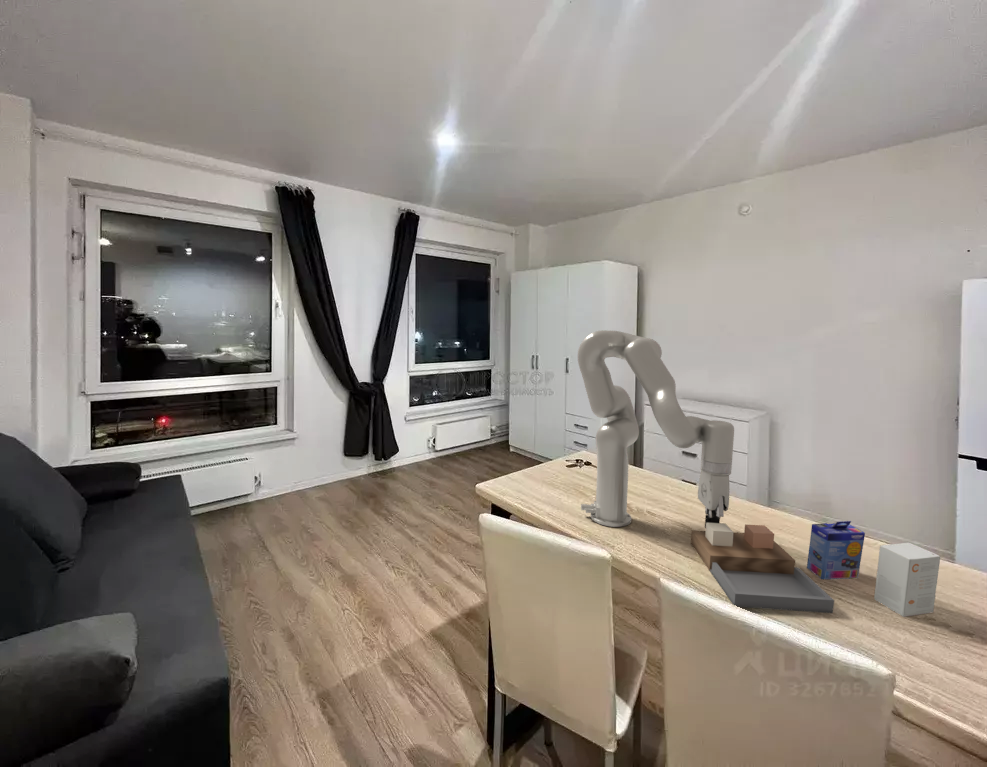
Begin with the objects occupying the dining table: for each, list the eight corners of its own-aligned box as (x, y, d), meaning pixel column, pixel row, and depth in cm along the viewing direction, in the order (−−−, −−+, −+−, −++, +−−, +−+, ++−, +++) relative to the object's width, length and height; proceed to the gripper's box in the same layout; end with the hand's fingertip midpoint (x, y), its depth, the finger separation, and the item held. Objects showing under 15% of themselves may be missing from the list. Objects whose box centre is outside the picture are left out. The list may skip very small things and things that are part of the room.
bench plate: (709, 570, 110) (710, 555, 109) (690, 543, 124) (691, 530, 123) (794, 575, 108) (795, 560, 107) (765, 547, 122) (766, 534, 121)
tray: (734, 606, 96) (735, 593, 95) (710, 571, 109) (710, 560, 109) (832, 613, 93) (834, 600, 93) (795, 576, 107) (796, 565, 107)
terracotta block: (752, 547, 113) (753, 532, 113) (743, 538, 118) (744, 524, 118) (773, 548, 113) (774, 533, 112) (763, 539, 118) (764, 525, 117)
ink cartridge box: (823, 581, 106) (829, 524, 104) (805, 568, 111) (810, 514, 109) (861, 579, 106) (867, 522, 105) (841, 567, 112) (847, 513, 110)
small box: (901, 595, 100) (908, 541, 98) (934, 613, 94) (942, 556, 92) (872, 599, 98) (879, 544, 97) (903, 617, 92) (910, 559, 91)
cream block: (712, 545, 115) (713, 530, 114) (705, 536, 120) (706, 522, 119) (732, 546, 114) (733, 531, 114) (724, 537, 119) (725, 523, 118)
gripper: (692, 457, 127) (688, 518, 129) (712, 474, 112) (708, 542, 115) (719, 458, 126) (715, 519, 129) (743, 475, 112) (738, 543, 114)
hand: (711, 529), depth 122 cm, fingers closed
